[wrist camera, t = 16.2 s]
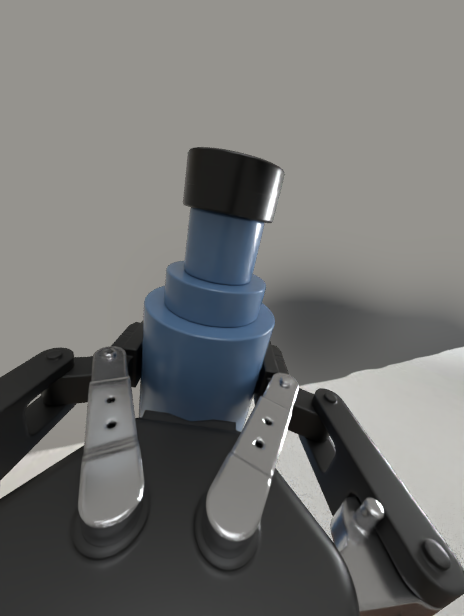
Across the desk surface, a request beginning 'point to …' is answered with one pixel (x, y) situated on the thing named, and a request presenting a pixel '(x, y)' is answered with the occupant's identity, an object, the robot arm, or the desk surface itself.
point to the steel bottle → (212, 294)
